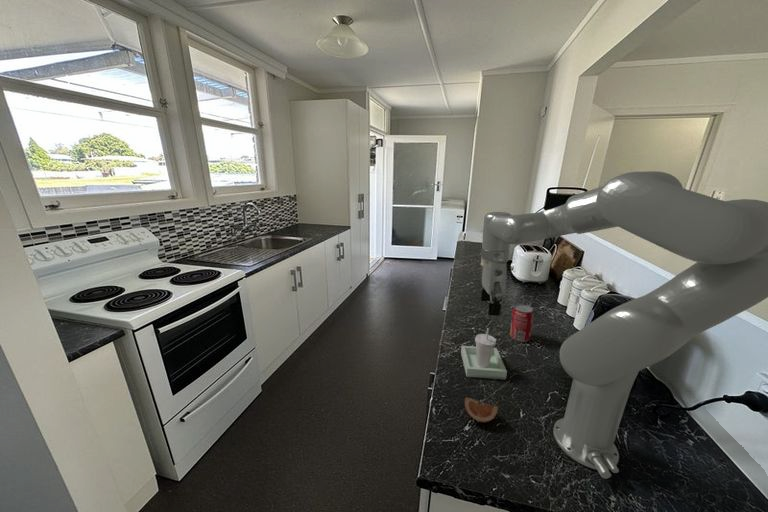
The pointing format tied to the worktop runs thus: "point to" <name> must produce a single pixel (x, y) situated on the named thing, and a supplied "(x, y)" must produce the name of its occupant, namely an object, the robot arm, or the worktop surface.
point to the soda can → (521, 323)
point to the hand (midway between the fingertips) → (489, 307)
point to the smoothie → (484, 349)
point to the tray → (473, 370)
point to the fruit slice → (480, 410)
